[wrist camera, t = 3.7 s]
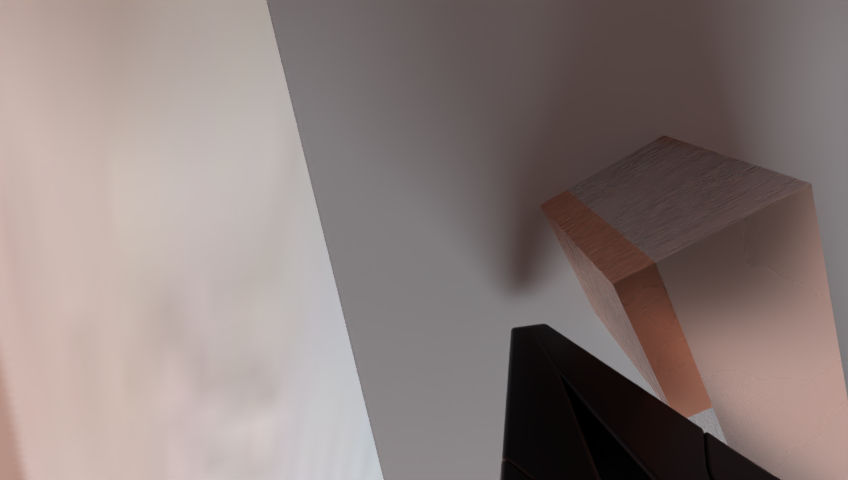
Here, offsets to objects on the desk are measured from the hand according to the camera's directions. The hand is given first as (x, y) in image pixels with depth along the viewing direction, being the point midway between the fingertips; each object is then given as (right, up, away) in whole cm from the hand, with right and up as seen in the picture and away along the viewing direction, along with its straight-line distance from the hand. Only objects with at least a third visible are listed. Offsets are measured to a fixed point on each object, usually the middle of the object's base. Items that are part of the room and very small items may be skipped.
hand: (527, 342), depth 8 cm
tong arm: (+8, -4, +3) cm, 9 cm away
